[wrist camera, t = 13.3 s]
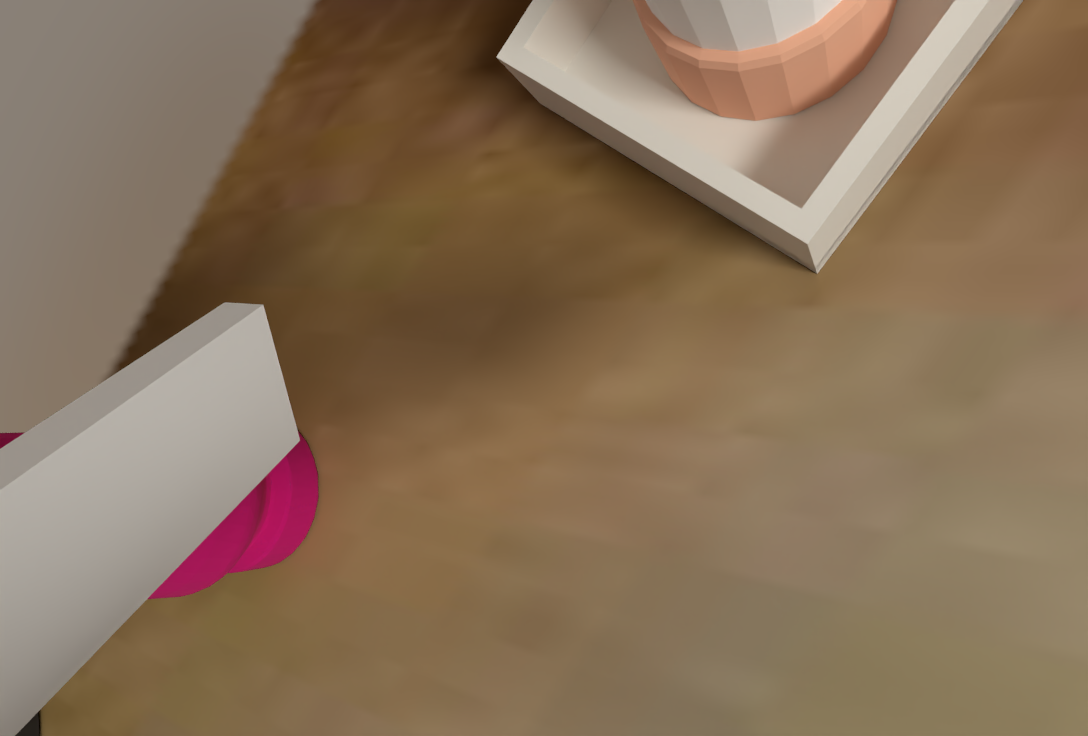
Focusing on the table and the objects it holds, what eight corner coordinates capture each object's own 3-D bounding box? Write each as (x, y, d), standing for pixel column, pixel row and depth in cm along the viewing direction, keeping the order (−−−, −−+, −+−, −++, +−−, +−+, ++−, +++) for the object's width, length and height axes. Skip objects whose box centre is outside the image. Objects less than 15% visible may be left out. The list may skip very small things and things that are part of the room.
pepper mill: (186, 430, 33) (-652, 393, 15) (313, 380, 31) (-513, 264, 12) (210, 595, 32) (-698, 780, 13) (345, 558, 29) (-549, 722, 11)
